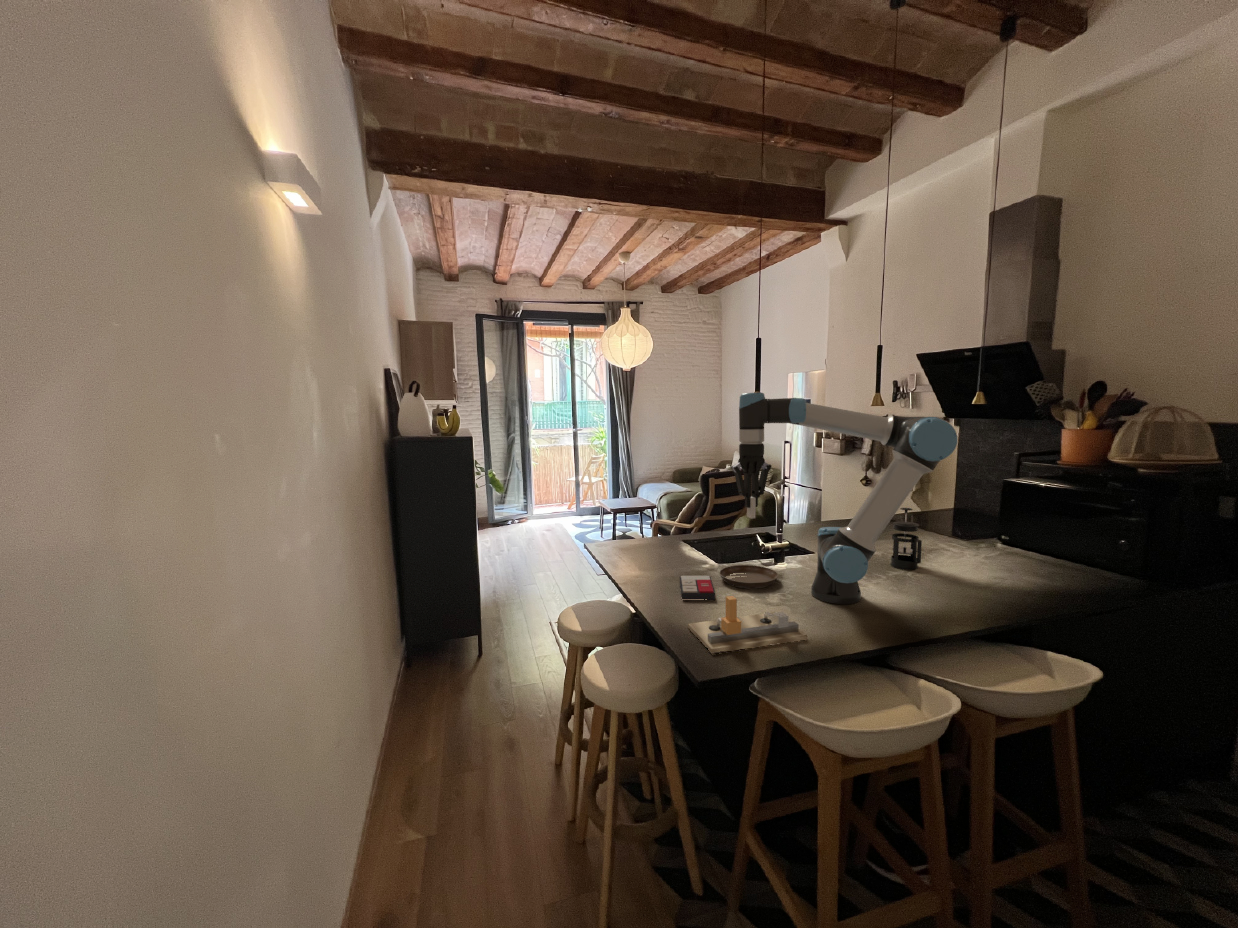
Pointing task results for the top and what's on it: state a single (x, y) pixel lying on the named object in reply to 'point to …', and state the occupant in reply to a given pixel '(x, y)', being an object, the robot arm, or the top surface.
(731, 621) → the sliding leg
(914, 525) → the french press
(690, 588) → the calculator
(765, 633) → the rail
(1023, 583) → the top surface
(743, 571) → the plant saucer
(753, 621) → the hole plate
